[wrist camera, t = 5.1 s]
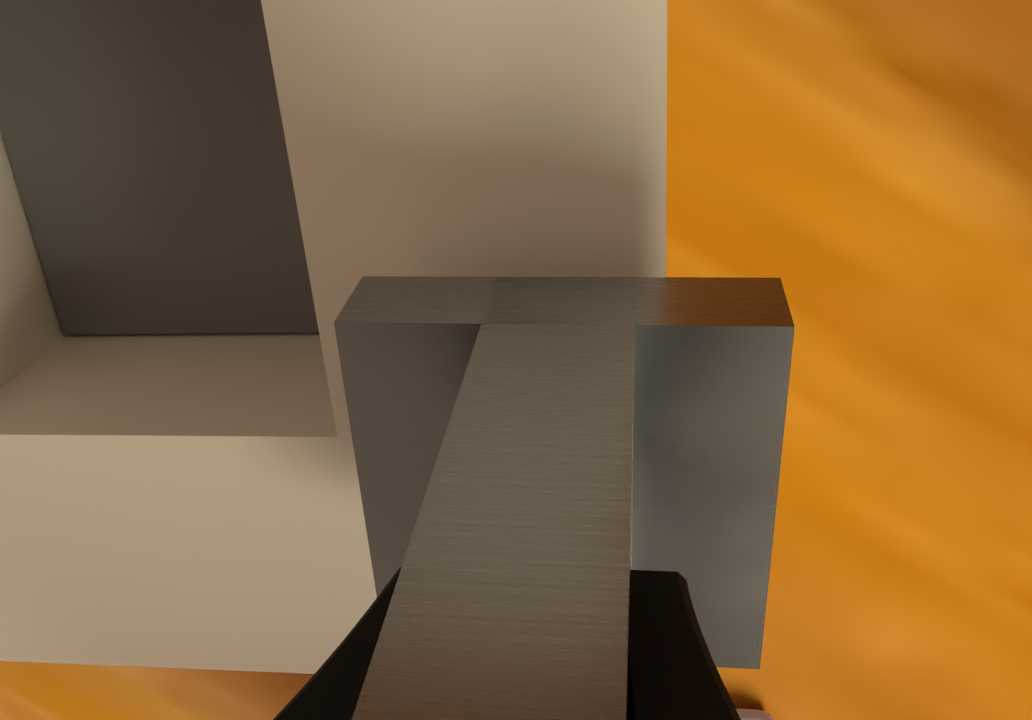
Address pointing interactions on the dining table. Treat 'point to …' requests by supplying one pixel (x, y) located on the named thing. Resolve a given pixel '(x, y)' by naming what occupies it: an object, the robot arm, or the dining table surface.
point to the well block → (266, 281)
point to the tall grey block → (558, 478)
